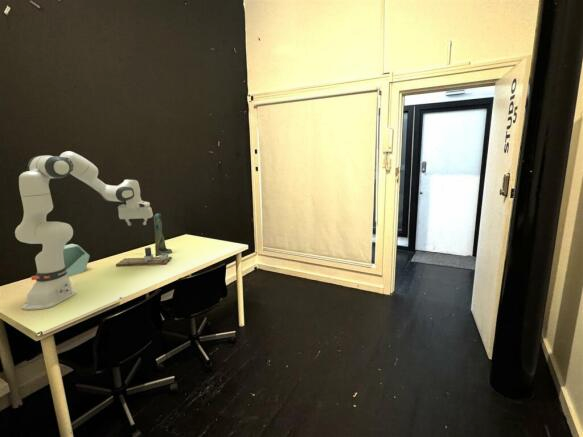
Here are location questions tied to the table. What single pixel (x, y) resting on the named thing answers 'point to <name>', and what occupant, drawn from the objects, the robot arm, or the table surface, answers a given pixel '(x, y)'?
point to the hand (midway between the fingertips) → (137, 225)
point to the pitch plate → (159, 260)
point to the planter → (75, 259)
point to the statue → (159, 237)
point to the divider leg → (148, 254)
